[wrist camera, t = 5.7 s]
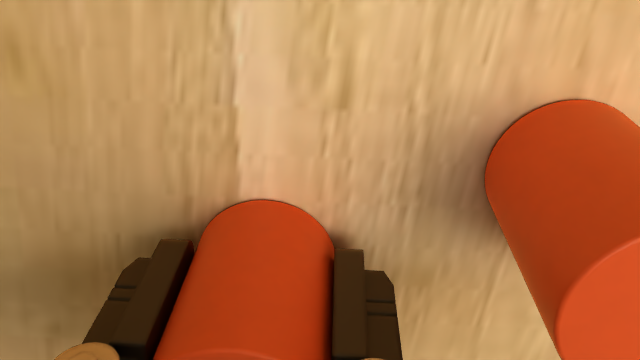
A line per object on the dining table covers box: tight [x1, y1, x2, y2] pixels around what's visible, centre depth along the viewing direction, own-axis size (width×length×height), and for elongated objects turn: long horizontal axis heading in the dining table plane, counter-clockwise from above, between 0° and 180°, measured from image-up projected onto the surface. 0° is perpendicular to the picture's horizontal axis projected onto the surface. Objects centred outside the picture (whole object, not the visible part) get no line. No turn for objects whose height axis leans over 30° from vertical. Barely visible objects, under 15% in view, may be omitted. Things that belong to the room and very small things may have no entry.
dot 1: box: [485, 100, 640, 360], centre depth 11 cm, size 4×4×5 cm
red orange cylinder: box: [153, 200, 334, 360], centre depth 12 cm, size 4×4×5 cm
